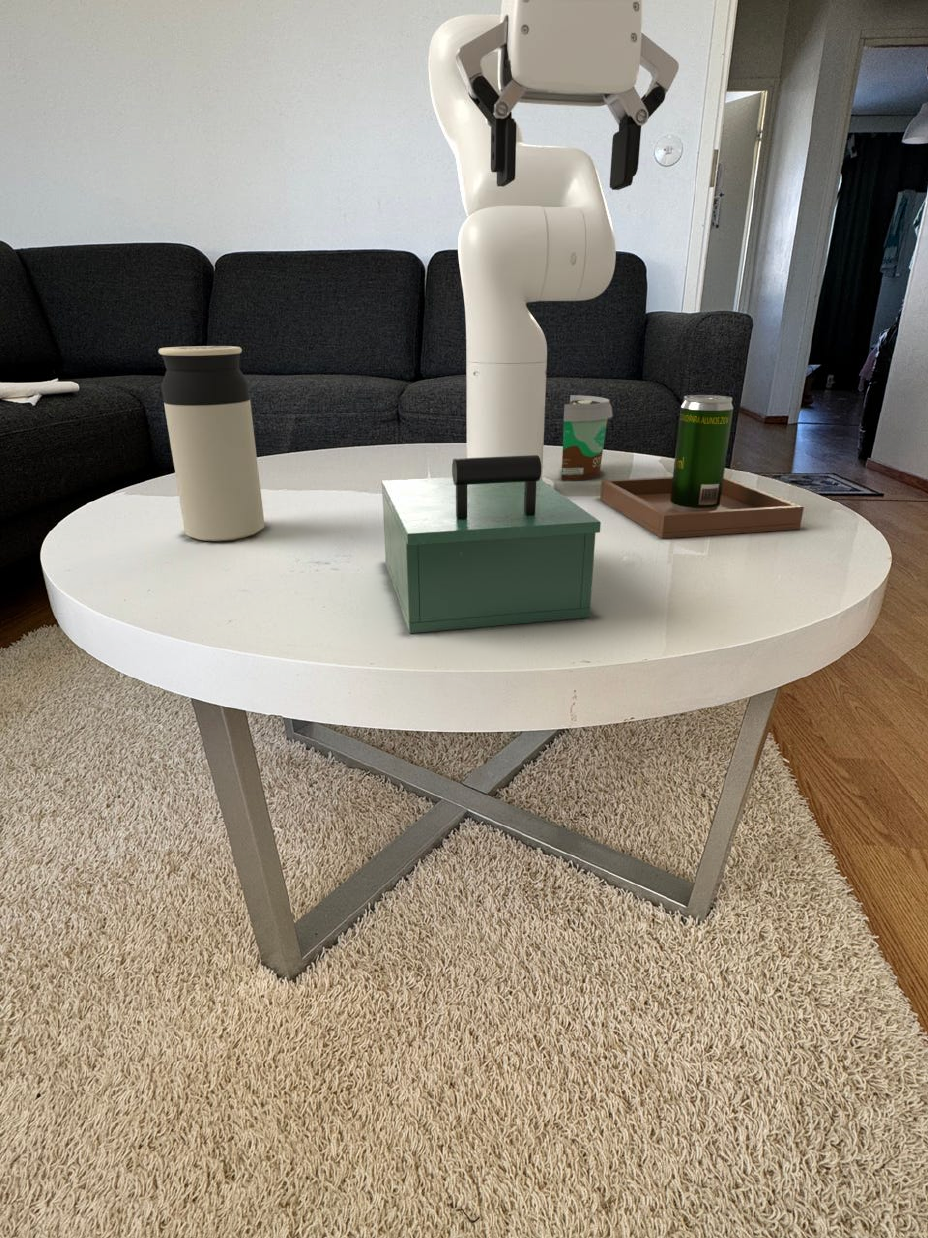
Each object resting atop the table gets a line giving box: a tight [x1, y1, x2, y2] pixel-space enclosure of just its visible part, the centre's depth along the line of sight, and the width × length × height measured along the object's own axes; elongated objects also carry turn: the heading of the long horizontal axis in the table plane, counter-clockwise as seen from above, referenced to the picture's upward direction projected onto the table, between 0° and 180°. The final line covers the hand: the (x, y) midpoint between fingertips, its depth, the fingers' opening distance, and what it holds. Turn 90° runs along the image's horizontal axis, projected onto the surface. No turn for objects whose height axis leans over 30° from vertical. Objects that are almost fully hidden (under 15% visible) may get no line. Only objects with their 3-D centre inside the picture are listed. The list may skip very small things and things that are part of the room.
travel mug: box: [157, 345, 265, 542], centre depth 72 cm, size 8×8×18 cm
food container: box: [560, 394, 613, 481], centre depth 99 cm, size 12×6×10 cm, turn 168°
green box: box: [381, 490, 596, 634], centre depth 58 cm, size 16×14×7 cm
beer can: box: [670, 394, 734, 512], centre depth 78 cm, size 5×5×12 cm
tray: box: [599, 475, 805, 540], centre depth 81 cm, size 17×16×2 cm
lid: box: [381, 455, 602, 545], centre depth 56 cm, size 16×14×5 cm
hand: (564, 185), depth 57 cm, fingers open, 9 cm apart
